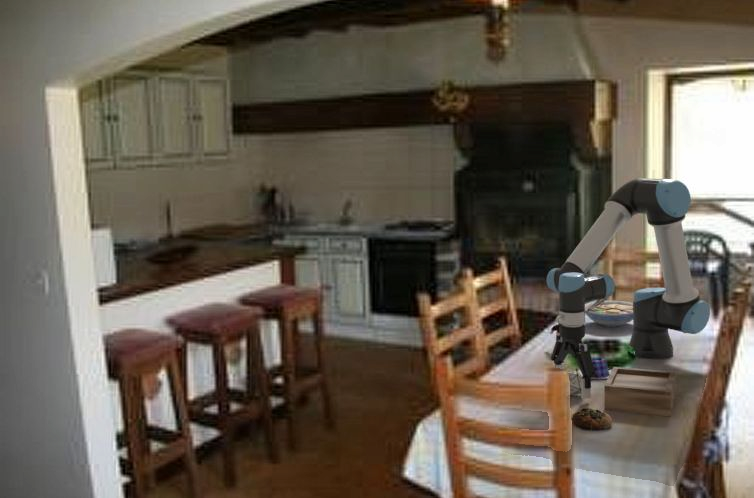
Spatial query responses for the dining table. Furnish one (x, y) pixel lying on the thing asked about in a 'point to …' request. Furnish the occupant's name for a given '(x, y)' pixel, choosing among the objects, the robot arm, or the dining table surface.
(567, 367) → the dining table surface
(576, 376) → the game die
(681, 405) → the dining table surface
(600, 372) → the pudding
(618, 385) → the walnut box
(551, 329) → the grandmother figurine
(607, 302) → the ramen bowl
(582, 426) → the bread roll
